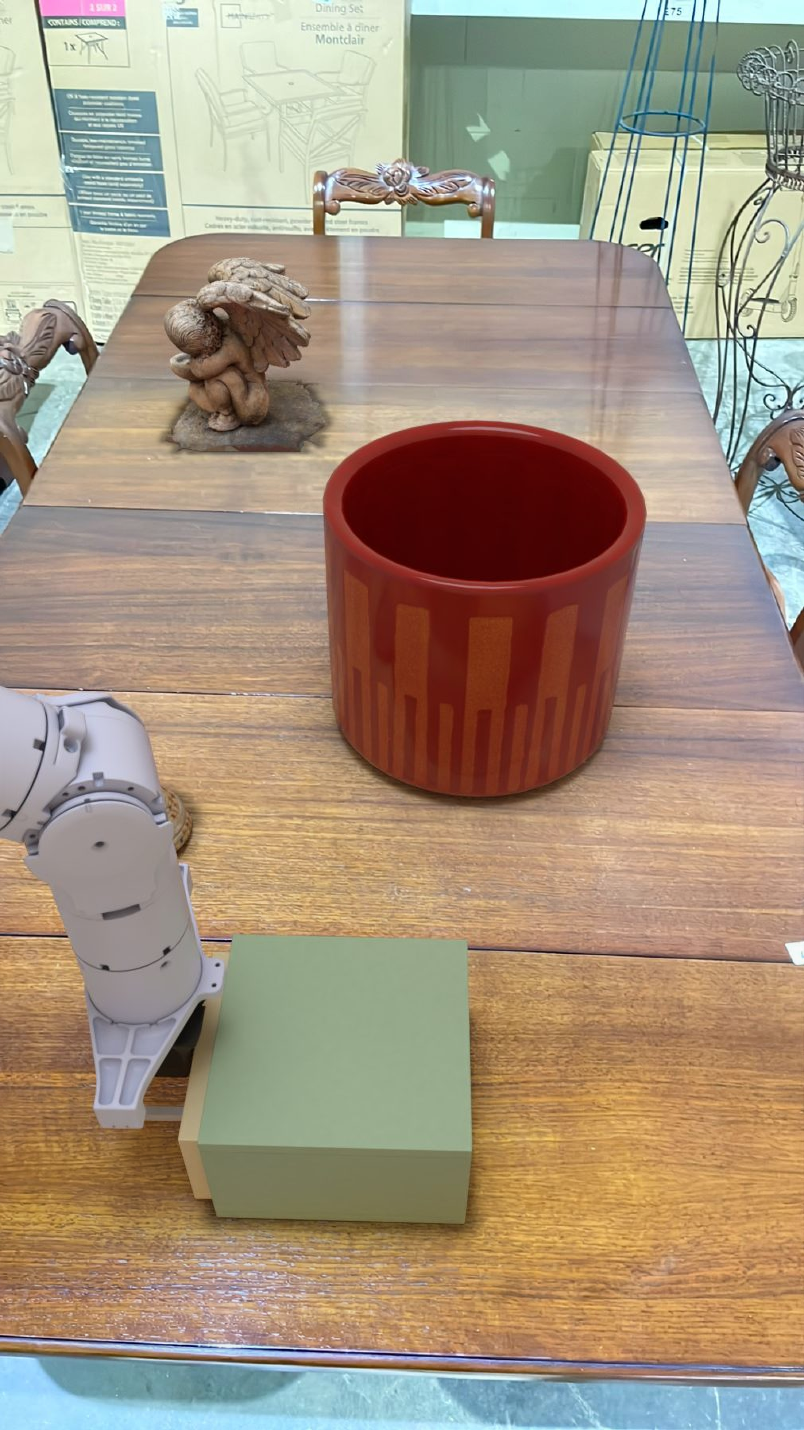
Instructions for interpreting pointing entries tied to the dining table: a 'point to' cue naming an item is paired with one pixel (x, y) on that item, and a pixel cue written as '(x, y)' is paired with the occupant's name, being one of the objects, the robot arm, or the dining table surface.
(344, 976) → the cabinet
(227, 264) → the cherub figurine
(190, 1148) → the drawer
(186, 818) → the seashell
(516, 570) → the planter
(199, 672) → the dining table surface
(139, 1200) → the dining table surface
